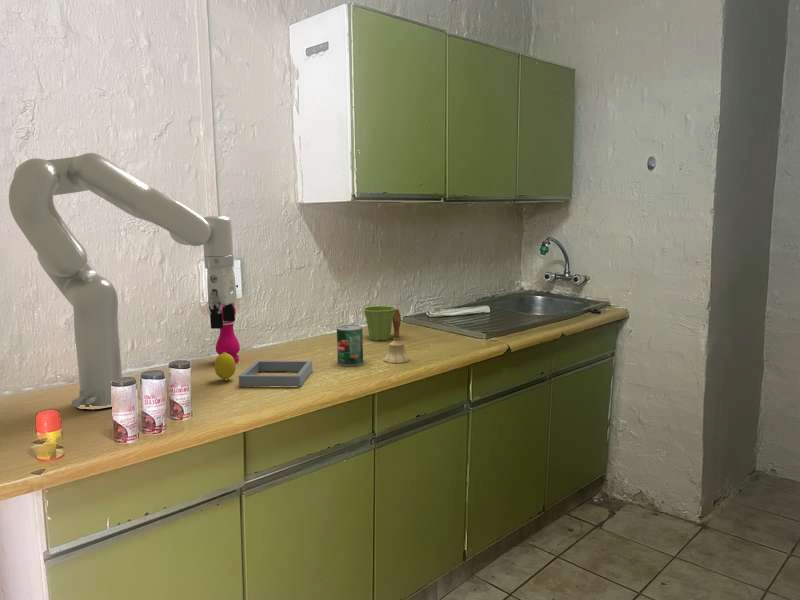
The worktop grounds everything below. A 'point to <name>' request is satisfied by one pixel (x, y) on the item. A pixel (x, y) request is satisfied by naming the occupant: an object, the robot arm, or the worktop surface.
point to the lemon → (224, 365)
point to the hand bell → (396, 343)
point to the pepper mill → (228, 340)
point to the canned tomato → (350, 345)
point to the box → (276, 380)
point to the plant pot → (379, 321)
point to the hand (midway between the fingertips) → (223, 324)
